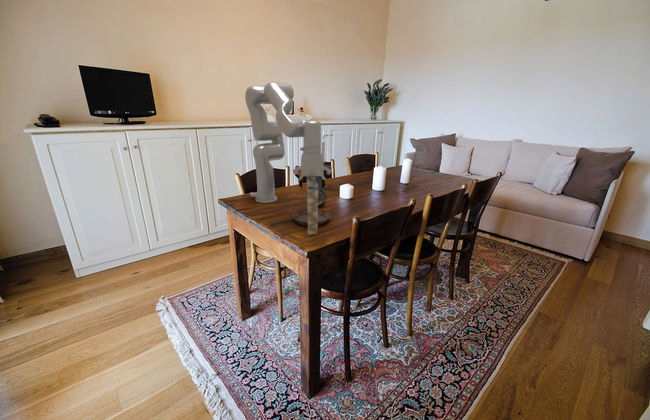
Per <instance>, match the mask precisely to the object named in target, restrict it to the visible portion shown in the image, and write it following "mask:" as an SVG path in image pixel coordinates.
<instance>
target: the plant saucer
mask: <svg viewBox="0 0 650 420" xmlns="http://www.w3.org/2000/svg"><path fill="white" fill-rule="evenodd" d="M292 218H293V219H294V220H295V222H297V223H298V225H299V224H300V225H302V226H306V227H308V209H307V208H306V209H301V210H297V211H295V212H294V213H293V214H292ZM330 218H331V214H330V213H329V212H328V211H325V210H321V209H318V226H321V225H323V224H325V223H327V222H328V220H329V219H330Z"/></svg>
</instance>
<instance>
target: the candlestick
mask: <svg viewBox="0 0 650 420" xmlns="http://www.w3.org/2000/svg"><path fill="white" fill-rule="evenodd" d="M325 136H326V134H325V133H324V134H323V137H322V140H321V153H322V155H323V164H324V166H325V167H327V168H329V169H331V170H332V165H329V164H326V163H327V162H326V161H325V159H326V158H325V156H326V155H325V153H326V141H325V138H326V137H325ZM323 175H324V176H325V173H324V174H323ZM320 178H321V179H322V177H321V176H320ZM329 189H330V186H329V185H328V184H325V191H326V190H329Z"/></svg>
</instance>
